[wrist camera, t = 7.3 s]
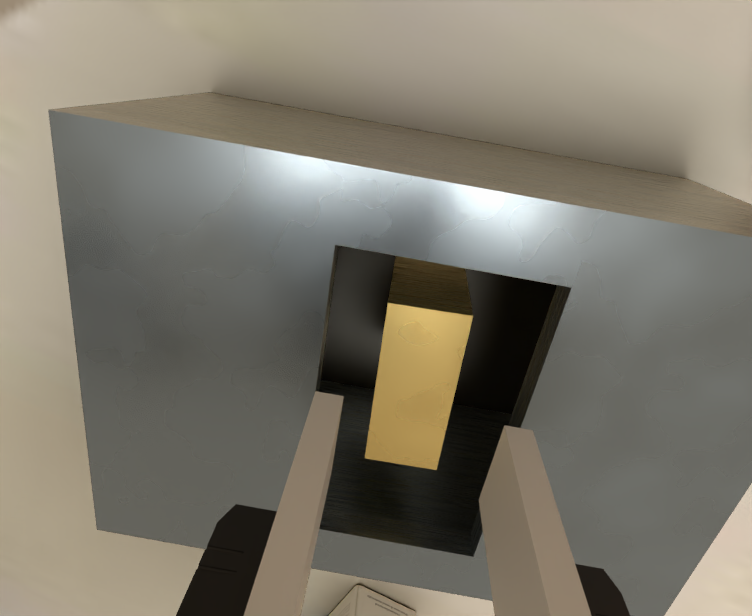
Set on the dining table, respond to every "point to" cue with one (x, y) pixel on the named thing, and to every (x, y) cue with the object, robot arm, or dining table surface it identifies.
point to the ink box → (369, 605)
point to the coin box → (303, 377)
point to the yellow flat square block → (419, 362)
